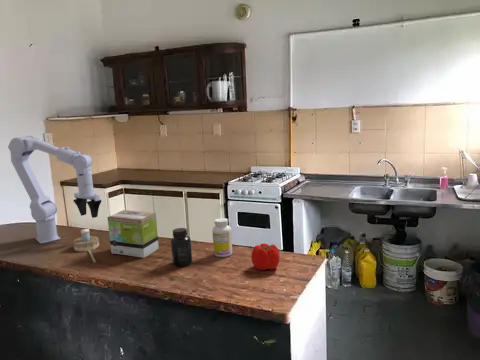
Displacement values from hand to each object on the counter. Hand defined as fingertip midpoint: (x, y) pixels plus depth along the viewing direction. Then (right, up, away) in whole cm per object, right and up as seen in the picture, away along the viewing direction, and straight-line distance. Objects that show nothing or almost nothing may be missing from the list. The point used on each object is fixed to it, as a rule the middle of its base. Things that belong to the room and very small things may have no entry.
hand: (89, 216), depth 169 cm
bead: (+2, -12, -8) cm, 14 cm away
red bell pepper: (+71, -14, -37) cm, 81 cm away
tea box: (+23, -12, -16) cm, 31 cm away
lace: (+8, -13, -19) cm, 24 cm away
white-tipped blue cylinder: (+2, -12, -8) cm, 14 cm away
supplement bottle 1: (+43, -14, -29) cm, 54 cm away
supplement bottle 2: (+57, -12, -23) cm, 62 cm away
